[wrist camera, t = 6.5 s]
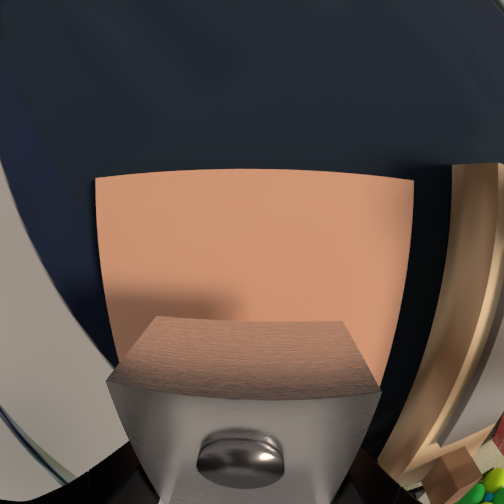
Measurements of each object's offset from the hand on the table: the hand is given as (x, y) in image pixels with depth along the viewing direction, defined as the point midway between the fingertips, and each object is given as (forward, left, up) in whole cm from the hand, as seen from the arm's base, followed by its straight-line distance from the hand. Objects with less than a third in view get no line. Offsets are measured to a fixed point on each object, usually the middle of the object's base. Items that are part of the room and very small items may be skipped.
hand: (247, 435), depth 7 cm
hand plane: (0, -12, -4) cm, 13 cm away
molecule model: (-29, -32, -4) cm, 43 cm away
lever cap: (0, 0, 0) cm, 1 cm away
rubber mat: (0, 0, -4) cm, 4 cm away
